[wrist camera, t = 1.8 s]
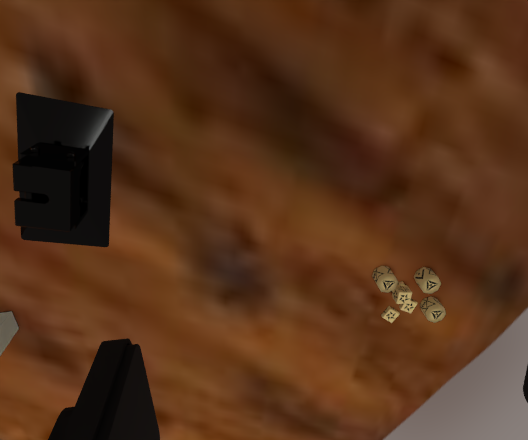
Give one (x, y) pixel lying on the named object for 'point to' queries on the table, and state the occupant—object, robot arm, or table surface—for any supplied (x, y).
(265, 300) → the table surface
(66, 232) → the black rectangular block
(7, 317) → the frame
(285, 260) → the table surface
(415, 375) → the table surface
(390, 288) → the dice set
